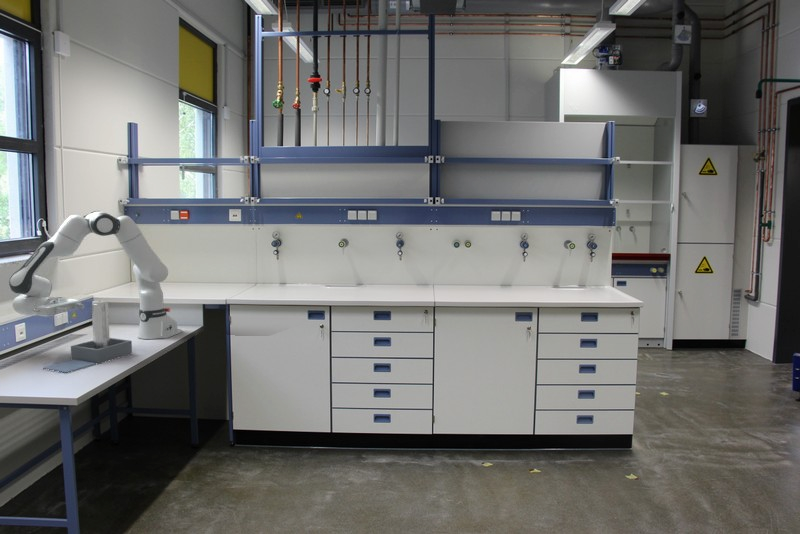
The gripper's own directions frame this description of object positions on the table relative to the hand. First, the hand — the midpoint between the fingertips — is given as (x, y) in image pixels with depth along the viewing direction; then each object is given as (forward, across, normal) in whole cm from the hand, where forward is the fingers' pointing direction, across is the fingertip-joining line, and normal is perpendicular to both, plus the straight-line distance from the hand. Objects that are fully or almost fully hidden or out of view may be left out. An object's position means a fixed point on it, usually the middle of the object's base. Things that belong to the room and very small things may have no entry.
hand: (75, 308), depth 264 cm
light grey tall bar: (+12, 0, +21) cm, 25 cm away
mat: (+10, -16, +21) cm, 29 cm away
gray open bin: (+12, 0, +21) cm, 24 cm away
